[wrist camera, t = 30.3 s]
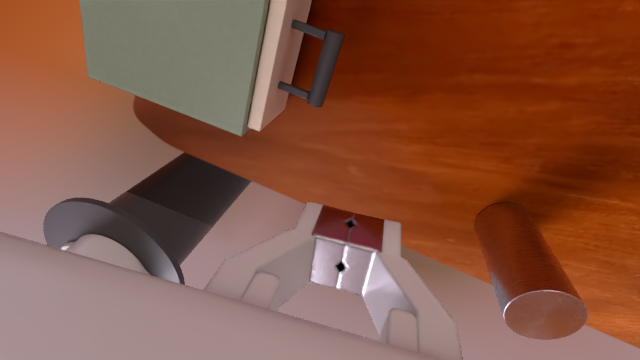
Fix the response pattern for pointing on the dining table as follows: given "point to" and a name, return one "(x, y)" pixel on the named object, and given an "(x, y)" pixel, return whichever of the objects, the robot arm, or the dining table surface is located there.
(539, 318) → the can
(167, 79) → the cabinet
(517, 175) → the dining table surface
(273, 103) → the drawer
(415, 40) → the dining table surface
